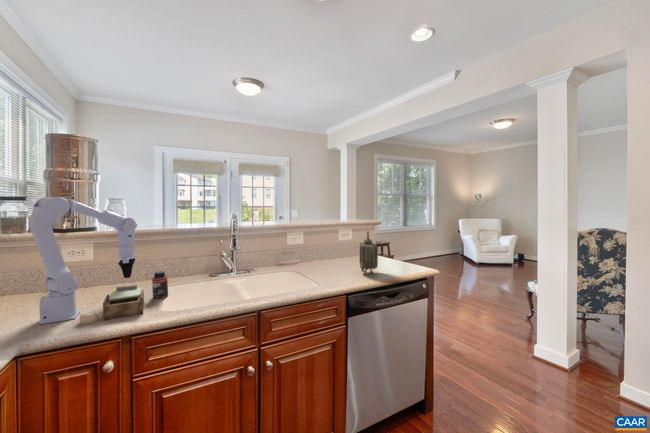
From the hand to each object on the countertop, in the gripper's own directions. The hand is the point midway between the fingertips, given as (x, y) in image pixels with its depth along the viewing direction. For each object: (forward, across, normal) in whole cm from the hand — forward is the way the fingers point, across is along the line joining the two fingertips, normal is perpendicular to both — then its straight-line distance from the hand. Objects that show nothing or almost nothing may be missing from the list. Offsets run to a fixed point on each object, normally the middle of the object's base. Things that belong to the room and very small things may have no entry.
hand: (127, 276), depth 125 cm
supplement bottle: (+10, -4, -12) cm, 16 cm away
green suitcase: (+10, -18, -118) cm, 120 cm away
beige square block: (+10, -21, +10) cm, 25 cm away
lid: (+5, -11, 0) cm, 12 cm away
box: (+10, -17, 0) cm, 20 cm away
